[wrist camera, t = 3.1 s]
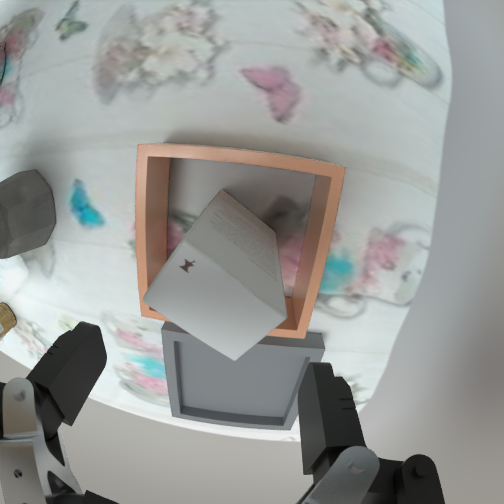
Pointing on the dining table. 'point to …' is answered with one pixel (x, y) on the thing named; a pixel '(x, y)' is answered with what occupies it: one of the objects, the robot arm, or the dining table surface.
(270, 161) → the orange square frame
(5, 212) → the coffeepot
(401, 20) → the dining table surface
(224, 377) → the grey tray
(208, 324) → the skincare box
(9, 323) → the sprinkles bottle
